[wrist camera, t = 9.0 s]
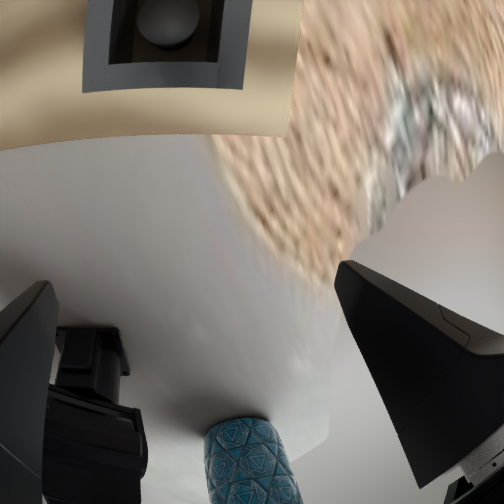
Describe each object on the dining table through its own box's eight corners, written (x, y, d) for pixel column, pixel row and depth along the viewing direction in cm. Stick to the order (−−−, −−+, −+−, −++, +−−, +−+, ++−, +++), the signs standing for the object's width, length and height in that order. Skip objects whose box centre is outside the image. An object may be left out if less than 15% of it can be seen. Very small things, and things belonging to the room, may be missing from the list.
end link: (222, 82, 16) (243, 90, 11) (113, 83, 14) (82, 93, 9) (233, -16, 12) (259, -50, 8) (121, -16, 11) (96, -50, 6)
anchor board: (280, 133, 19) (319, 163, 14) (6, 145, 15) (-44, 180, 10) (300, -40, 13) (348, -70, 8) (13, -26, 9) (-38, -43, 4)
